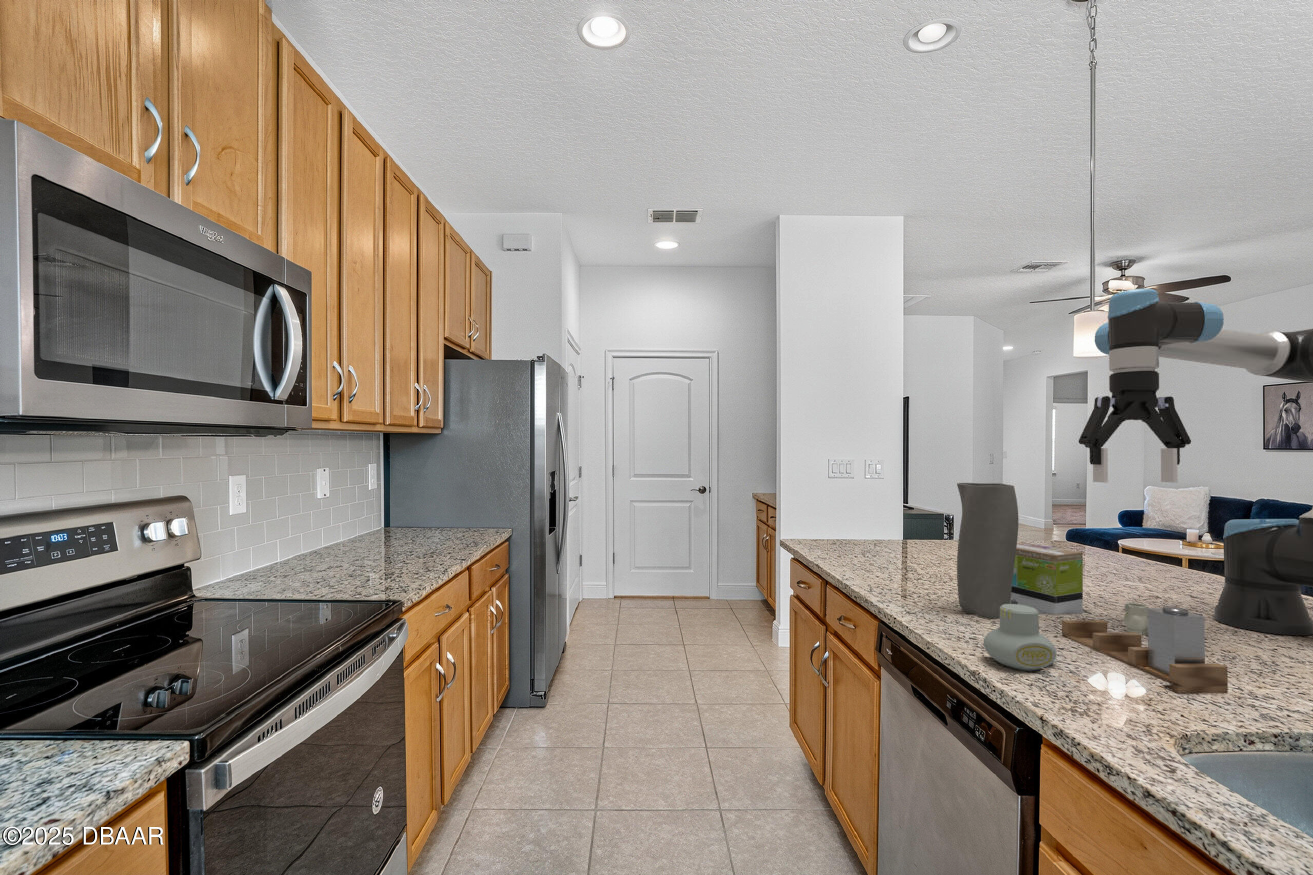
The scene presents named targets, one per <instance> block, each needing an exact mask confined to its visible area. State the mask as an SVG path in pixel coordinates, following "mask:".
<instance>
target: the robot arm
mask: <svg viewBox="0 0 1313 875" xmlns="http://www.w3.org/2000/svg"><path fill="white" fill-rule="evenodd" d="M1224 319H1225V318H1224V313H1223V311H1222V309H1221V308H1220V307H1219V306H1217V305H1216V304H1214V303H1209V302H1208V303H1207V302H1199V301H1194V302H1184V301H1183V302H1181V301H1180V302H1174V301H1172V302H1171V301H1170V302H1165V301H1164V302H1163V301H1160V298H1159V293H1158V291H1157V290H1156V289H1152V288H1133V289H1129V290H1124V291H1120V292H1117V293H1114V294H1113V295H1112V296H1111V297H1110V298H1109V302H1108V312H1107V322H1105V323H1103V324H1101V325H1100V326H1099V327H1098V328H1097V329H1096V331H1095V334H1094V344H1095V346H1096V349H1098V351H1100V353H1102V354H1104V355H1108V370H1109V371H1110V372H1112V373H1111V374H1110V375H1109V377H1108V378H1109V379H1108V380H1109V381H1108V383H1109V385H1108V386H1109V387H1108V388H1109V392H1110V393H1111V397H1110V396H1109V395H1105V396H1104V395H1103V396H1097V397H1095V398H1094V404H1093V409H1092V411H1091V414H1090V416H1089V418H1088V420H1087V422H1086V424H1085V426H1084V428H1083V430H1082V433H1081V434H1080V437H1079V439H1078V443H1079V444H1080V445H1084V447H1085V448H1088V449H1089V464H1090V465H1092V482H1093V483H1106V484H1107V483H1108V482H1109V477H1108V474H1109V471H1108V468H1109V465H1108V461H1109V460H1108V450H1109V449H1108V448H1107V447H1104V446H1105V445H1106V443H1107V442H1108V441H1109V439H1110V438H1111V437H1112V436H1113V434H1115V432H1116V431H1117V429H1118V428H1119V427H1120V426H1121V425H1122V424H1123V423H1124V422H1126V421H1141V422H1143V423H1145V424H1146V425H1147V426H1148V427H1149V429H1150V430H1151V432H1153V434H1154V435H1155V436H1156V437H1157V438H1158V439H1159V441H1160V442H1161V443H1162V444H1163V445H1164V447H1165V448H1162V447H1161V448H1160V481H1161V482H1162V483H1172V484H1173V483H1174V484H1175V483H1178V465H1180V462H1181V453H1180V452H1181V449H1183V448H1186V446H1187V445H1190V444H1191V443H1192V440H1191V437H1190V436H1189V434H1188V432H1187V429H1186V428H1185V426H1184V423H1183V421H1182V419H1181V418H1180V416H1179V413H1178V412H1177V409H1176V407H1175V406H1176V405H1175V400H1174V397H1173V396H1171V395H1170V396H1159V397H1157V392H1158V391H1159V389H1160V373H1159V372H1158V371H1156V370H1157V369H1159V368H1160V358H1164V359H1165V358H1166V359H1173V360H1180V361H1187V362H1195V363H1202V364H1209V365H1217V366H1223V367H1230V368H1238V369H1245V370H1246V371H1247V372H1248V373H1250V374H1252V375H1255V376H1261V377H1269V378H1275V379H1281V380H1289V381H1296V382H1297V381H1298V382H1306V383H1313V328H1309V329H1301V330H1296V331H1286V332H1285V331H1284V332H1283V331H1282V332H1281V331H1277V330H1276V331H1273V330H1269V331H1263V332H1261V333H1251V332H1245V331H1237V330H1233V329H1232V330H1231V329H1223V326H1224ZM1110 408H1111V409H1112V411H1111V412H1110V413H1109V411H1110ZM1156 408H1157V409H1156ZM1108 413H1109V414H1108ZM1106 418H1107V419H1106ZM1105 419H1106V420H1105ZM1222 537H1223V538H1222V540H1223V563H1224V566H1223V567H1224V570H1223V571H1224V585H1223V588H1222V591H1221V594H1220V595H1219V599H1218V603H1217V604H1216V605H1215V606H1214V614H1213V615H1214V616H1213V617H1214V619H1215V620H1216V621H1217V622H1220V623H1221V624H1225V625H1228V626H1231V627H1232V626H1233V627H1236V628H1240V629H1243V630H1244V629H1245V630H1249V631H1254V632H1260V633H1261V632H1262V633H1267V634H1276V635H1285V636H1309V635H1313V619H1312V618H1311V617H1310V614H1309V611H1308V608H1307V606H1306V604H1305V601H1304V599H1303V595H1302V591H1301V588H1302V587H1301V586H1305V587H1310V588H1313V507H1312V508H1311V510H1309V511H1307V512H1305V513H1303V514H1302V515H1300V516H1299V519H1296V518H1256V519H1255V518H1253V519H1248V518H1247V519H1246V518H1245V519H1244V518H1243V519H1237V518H1236V519H1230V520H1229V521H1228V520H1227V522H1226V523H1225V525H1224V531H1223V536H1222Z"/></svg>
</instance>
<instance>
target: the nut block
mask: <svg viewBox="0 0 1313 875" xmlns="http://www.w3.org/2000/svg"><path fill="white" fill-rule="evenodd" d="M1198 614H1199V613H1194V612H1190V611H1189V610H1188V608H1185V607H1180V606H1179V607H1178V606H1171V605H1164V606H1162V607H1160V608H1159V607H1158V608H1157V607H1156V608H1153V607H1152V608H1151V607H1149V608H1148V615H1147V616H1148V630H1147V631H1148V634H1147V647H1148V668H1149V669H1151V670H1154V671H1156V672H1158V673H1161V674H1163V675H1165V676H1168V677H1169V664H1206V647H1205V646H1206V642H1205V640H1206V638H1205V637H1206V634H1205V633H1206V632H1205V631H1206V630H1205V626H1206V625H1205V616H1204V615H1203V616H1201V615H1198Z"/></svg>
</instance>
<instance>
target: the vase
mask: <svg viewBox="0 0 1313 875" xmlns="http://www.w3.org/2000/svg"><path fill="white" fill-rule="evenodd" d="M956 486H957V489H958V493H959V496H960V502H961V521H960V528H959V532H958V533H959V536H958V543H957V553H956V555H957V556H956V581H957V582H956V583H957V595H958V603H959V607H960V608H961V610H962V611H963V612H965V613H967V614H969V615H972V616H973V615H974V616H978V617H982V618H985V619H993V620H994V619H995V620H998V619H999V620H1000V606H1002V605H1004V604H1010V601H1011V590H1012V580H1013V571H1014V563H1015V555H1016V547H1017V543H1018V539H1019V538H1018V536H1019V506H1018V500H1017V494H1016V489H1015V486H1014V485H1012V484H1006V483H999V482H997V483H995V482H994V483H993V482H992V483H991V482H990V483H987V482H986V483H981V482H980V483H977V482H957V483H956Z"/></svg>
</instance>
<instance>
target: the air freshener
mask: <svg viewBox="0 0 1313 875" xmlns="http://www.w3.org/2000/svg"><path fill="white" fill-rule="evenodd" d="M1039 619H1040V618H1039V614H1038V611H1037V610H1036V609H1035V608H1033V607H1029V606H1025V605H1018V604H1004V605H1002V606H1000V618H999V627H997V628H994V629H992V630H990V631H989V632H988V633H987V634H986V635H985V637H984V638H983V647H984V650H985V651H986V653H987V654H988V656H990V657H991V658H992V659H993V660H995V661H996V662H998V663H999V664H1001V665H1003V666H1005V667H1009V668H1012V669H1016V670H1019V671H1023V672H1024V671H1025V672H1034V671H1038V670H1041V669H1043V668H1047V667H1049V666H1051V665H1052V664H1053V663H1054V662H1055V660H1056V657H1057V650H1056V647H1055V645H1054V644H1053V642H1052V641H1051V640H1050V639H1049V638H1047V637H1046V636H1044V635H1043V634H1041V633H1040V628H1039V627H1040V624H1039Z"/></svg>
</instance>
